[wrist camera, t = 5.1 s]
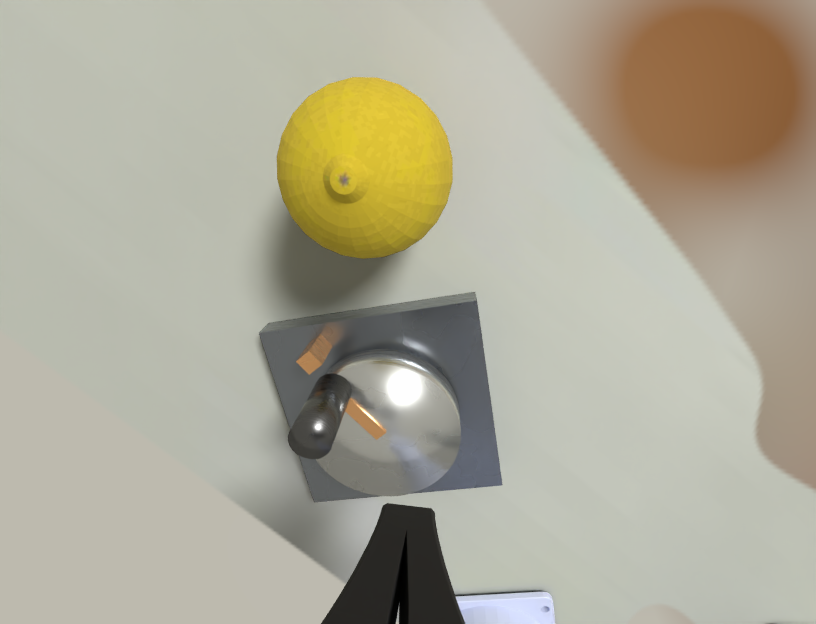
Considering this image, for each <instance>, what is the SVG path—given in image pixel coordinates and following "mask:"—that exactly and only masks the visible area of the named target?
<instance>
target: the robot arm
mask: <svg viewBox="0 0 816 624" xmlns="http://www.w3.org/2000/svg"><path fill="white" fill-rule="evenodd" d="M398 607H399V624H555V617H554V607H553V600H552V596H551V595H550V594H549V593H547V592H525V593H508V594H490V595H473V596H455V594H454V591H453V588H452V585H451V582H450V579H449V575H448V572H447V569H446V566H445V562H444V559H443V555H442V551H441V547H440V543H439V538H438V534H437V528H436V522H435V512H434V511H433V510H432V509H431V508H423V507H414V506H406V505H397V504H389V503H387V504H385V505H384V506H383V507H382V510H381V514H380V517H379V520H378V522H377V525H376V527H375V530H374V532H373V534H372V536H371V539H370V541H369V543H368V545H367V547H366V549H365V551H364V553H363V555H362V557H361V559H360V560H359V562H358V564H357V566H356V568H355V570H354V572H353V573H352V575H351V577H350V579H349V580H348V582H347V584H346V585H345V587H344V589H343V590H342V592H341V594H340V595H339V597H338V599H337V600H336V602H335V603H334V605H333V607H332V608H331V610H330V611H329V613H328V614H327V616H326V617H325V619H324V620H323V622H322V623H321V624H396V618H397V613H398Z"/></svg>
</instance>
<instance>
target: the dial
mask: <svg viewBox="0 0 816 624" xmlns="http://www.w3.org/2000/svg"><path fill="white" fill-rule="evenodd" d="M460 441H461V428H460V412H459V405H458V401H457V398H456V395H455V393H454V391H453V388H452V387H451V385H450V384H449V382H448V381H447V379H446V378H445V377H444V376H443V375H442V373H441V372H440V371H438V370H437V369H436V368H435V367H434V366H432V365H431V364H430V363H428V362H427V361H425V360H423V359H421V358H419V357H417V356H415V355H412V354H410V353H407V352H403V351H399V350H392V349H372V350H365V351H361V352H357V353H355V354H352V355H350V356H348V357H346V358H344V359H342V360H340V361H339V362H338V363H336V364H335V365H334V366H333V367H332V368H331V369H330V370H329V371H328V372H327V373H326V374H325V375H323V376H321V377H320V378H319V379H318V380H317V382H316V384H315V386H314V387H313V389H312V391H311V393H310V395H309V397H308V398H307V400H306V402H305V404H304V406H303V408H302V409H301V411H300V413H299V415H298V417H297V419H296V420H295V422H294V424H293V426H292V428H291V430H290V432H289V434H288V442H289V445H290V447H291V448H292V450H293V451H294V452H295V453H297V454H298V455H299V456H301V457H304V458H307V459H316V461H317V462H318V463H319V465H320V466H321V467H322V468H323V469H324V470H325V471H326V472H327V473H328V474H329V475H330V476H332V477H333V478H334V479H335V480H337V481H338V482H340V483H342V484H343V485H345V486H347V487H349V488H352V489H354V490H357V491H360V492H363V493H367V494H371V495H378V496H400V495H406V494H410V493H414V492H417V491H420V490H422V489H424V488H427V487H428V486H430V485H432V484H433V483H435V482H436V481H438V480H439V479H440V478H441V477H442V476H443V475H444V474H445V473H446V472H447V471H448V470H449V468H450V467H451V466H452V464H453V462H454V461H455V459H456V457H457V454H458V451H459V447H460Z"/></svg>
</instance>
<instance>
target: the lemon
mask: <svg viewBox="0 0 816 624" xmlns="http://www.w3.org/2000/svg"><path fill="white" fill-rule="evenodd" d="M277 179H278V183H279V187H280V191H281V195H282V198H283V201H284V203H285V205H286V207H287V209H288V211H289V213H290V215H291V217H292V218H293V220H294V221H295V222H296V223H297V224H298V226H299V227H300V228H301V229H302V230H303V232H304V233H305V234H306V235H307V236H309V237H310V238H311V239H313V240H314V241H315V242H317V243H318V244H320V245H321V246H322V247H324V248H327V249H329V250H331V251H334V252H336V253H338V254H340V255H344V256H350V257H356V258H361V259H365V258H377V257H385V256H388V255H391V254H394V253H397V252H400V251H403V250H405V249H407V248H408V247H410V246H411V245H413V244H414V243H416V242H417V241H419V240H420V239H422V238H423V237H424V236H425V235H426V234H427V232H428V231H429V230H430V229H431V228H432V227H433V226H434V225H435V223H436V222H437V221H438V219H439V217H440V215H441V213H442V211H443V209H444V207H445V206H446V204H447V201H448V197H449V193H450V189H451V185H452V155H451V151H450V147H449V142H448V138H447V135H446V133H445V131H444V130H443V128H442V126H441V124H440V122H439V120H438V118H437V116H436V115H435V114H434V113H433V112H432V110H431V109H430V108H429V107H428V106H427V105H426V104H425V103H424V102H423V101H422V99H421V98H419V97H418V96H416V95H415V94H413V93H412V92H410V91H409V90H407V89H405V88H404V87H402V86H401V85H399V84H396V83H392V82H389V81H386V80H383V79H380V78H364V77H352V78H349V79H345V80H341V81H338V82H334V83H331V84H328V85H326V86H325V87H323V88H322V89H320V90H318V91H317V92H315V93H313V94H312V95H310V96H309V97H307V99H306V100H305V101H304V102H303V103H302V104H301V105H300V106H299V107H298V109H297V110H296V111H295V112H294V113H293V114H292V116H291V118H290V120H289V122H288V124H287V126H286V128H285V130H284V132H283V134H282V137H281V141H280V145H279V150H278V154H277Z"/></svg>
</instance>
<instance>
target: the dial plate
mask: <svg viewBox="0 0 816 624" xmlns="http://www.w3.org/2000/svg"><path fill="white" fill-rule="evenodd" d="M259 335H260V338H261V341H262V344H263V347H264V350H265V353H266V356H267V359H268V362H269V365H270V368H271V371H272V374H273V377H274V381H275V384H276V387H277V390H278V393H279V396H280V399H281V402H282V405H283V408H284V411H285V414H286V417H287V420H288V423H289V426H290V429H291V428H292V426H293V424H294V422H295V420H296V419H297V417H298V415H299V413H300V411H301V409H302V408H303V406H304V404H305V402H306V400H307V398H308V397H309V395H310V393H311V391H312V389H313V387H314V386H315V384H316V382H317V380H318V379H319V378H320V377H321V376H323V375H325V374H326V373H327V372H328V371H329V370H330V369H331V368H332V367H333V366H334V365H335V364H336V363H338V362H339V361H340V360H342V359H344V358H346V357H348V356H350V355H352V354H355V353H357V352H361V351H365V350H372V349H392V350H399V351H403V352H407V353H410V354H412V355H415V356H417V357H419V358H421V359H423V360H425V361H427V362H428V363H430V364H431V365H432V366H434V367H435V368H436V369H437V370H438V371H440V372H441V373H442V375H443V376H444V377H445V378H446V379H447V381H448V382H449V384H450V385H451V387H452V388H453V391H454V393H455V395H456V398H457V401H458V405H459V412H460V428H461V441H460V447H459V451H458V454H457V457H456V459H455V461H454V462H453V464H452V466H451V467H450V468H449V470H448V471H447V472H446V473H445V474H444V475H443V476H442V477H441V478H440V479H439V480H438V481H436V482H435V483H433V484H432V485H430V486H428V487H427V488H424V489H422V490H420V491H417V492H414V493H422V492H433V491H444V490H455V489H466V488H477V487H488V486H499V485H502V479H501V472H500V464H499V457H498V450H497V443H496V435H495V428H494V421H493V414H492V406H491V399H490V392H489V385H488V377H487V370H486V363H485V356H484V348H483V341H482V334H481V327H480V319H479V312H478V305H477V299H476V294H475V292H471V293H465V294H458V295H452V296H445V297H438V298H432V299H425V300H418V301H412V302H405V303H399V304H392V305H385V306H379V307H372V308H365V309H359V310H352V311H346V312H339V313H332V314H326V315H319V316H312V317H306V318H299V319H293V320H286V321H279V322H273V323H268V324H267V325H266V326H265V327H264V328H263V329H262V330H261V331H260V332H259ZM299 457H300V460H301V463H302V466H303V469H304V472H305V475H306V478H307V481H308V485H309V488H310V491H311V494H312V497H313V500H314V502H322V501H334V500H345V499H356V498H367V497H378V495H371V494H367V493H363V492H360V491H357V490H354V489H352V488H349V487H347V486H345V485H343V484H342V483H340V482H338V481H337V480H335V479H334V478H333V477H332V476H330V475H329V474H328V473H327V472H326V471H325V470H324V469H323V468H322V467H321V466H320V465H319V463H318V462H317V461H316V459H307V458H304V457H301V456H299ZM410 494H411V493H410Z"/></svg>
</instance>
